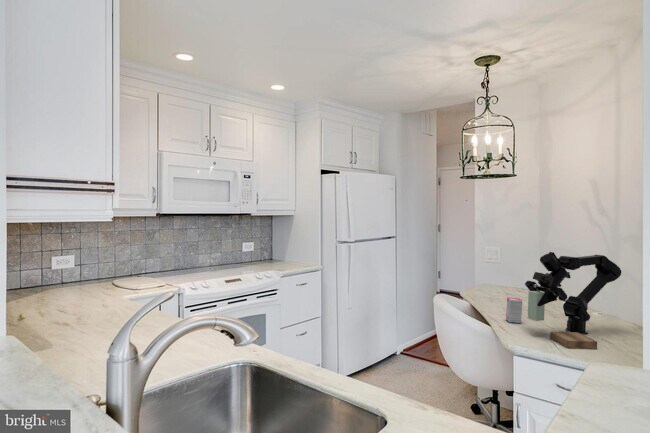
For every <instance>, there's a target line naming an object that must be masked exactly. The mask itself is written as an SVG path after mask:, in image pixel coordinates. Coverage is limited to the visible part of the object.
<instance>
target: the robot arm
mask: <svg viewBox="0 0 650 433" xmlns="http://www.w3.org/2000/svg"><path fill="white" fill-rule="evenodd" d="M539 261H540V263H541V264H542V266H543V267H544V268H545V269H546V271H548V272H546V273H543V272H538V271H534V274H533V276H532V280H534V281H532V280H526V281H525V283H524V285H525V287H526V288H527V289H528V291H540V292H544V296H543V297H542V298H541V300H540V301H539V303H538V304H537V305H538V306H542V305H544V304H545V305H546V304H549V303H552V302H554V301H555V302H556V301H558V300H559V301H562V302H564V303H563V304H562V309H563V314H564V316H565V317H567V320H566V328H565V330H566V331H567V332H579V333H581V334H583V335H589V334H588V331H587V330H586V327H587V326H586V325H587V322H588V321H590V319H591V315H590V314H589V312H588V308H589V307H588V305H589V303H590V302H591V301H592V300H593V299H594V298H595V297H596V295H598V294H599V293H600V291H601V290H602V289H603V288H604V287H605V286H606V285H607V284H608V283H612V282H614V281H616V280H617V279H619V278H620V277H621V276H622V270H621V267H620V266H618V265H617V264H616V263H615V262H614V261H612V260H610V259H609V258H608V257H607V256H606V255H601V254H594V255H593V254H592V255H585V256H567V255H560V256H559V257H558V256H557V255H556V254H555V252H552V251H549V253H546V254H544V255H542V256H540V258H539ZM586 266H594V268H595V269H596V276H595V277H594V278H593V279H592V280H591V281H590V283H588V284H587V285H586V286H585V287H584V288H583V289H582V291H581V292H580V293H579V294H578V295H577V296H573V295H570V296H569V297H568V294H567V293H566V292H565V290H564V289H563V288H562V282H563V281H564V280H565V279H571V278H572V277H571V274H570V273H571V272H570V271H576V270H577V269H580V268H581V267H586ZM567 270H569V271H567ZM536 281H537V282H536Z"/></svg>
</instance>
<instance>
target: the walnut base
mask: <svg viewBox="0 0 650 433" xmlns="http://www.w3.org/2000/svg"><path fill="white" fill-rule="evenodd" d="M549 339H550V340H552V341H553V342H554V343H556V344H558V343H559V345H561V346H562V347H564V348H565V349H572V348H573V350H575V349H577V350H597V349H598V341H596V340H595V339H593V338H591V337H589V336H587V335H586V334H581V333H579V332H570V331H550V332H549Z"/></svg>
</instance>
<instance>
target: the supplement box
mask: <svg viewBox="0 0 650 433" xmlns="http://www.w3.org/2000/svg"><path fill="white" fill-rule="evenodd" d="M522 314H523V300H522V299H520V298H519V297H509V296H508V297H507V298H506V314H505V321H506V322H507V323H509V324H515V325H516V324H517V325H522Z"/></svg>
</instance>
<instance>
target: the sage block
mask: <svg viewBox="0 0 650 433" xmlns="http://www.w3.org/2000/svg"><path fill="white" fill-rule="evenodd" d="M543 296H544V292H542V291H530V290H528V297H527V298H528V299H527V302H528V303H527V320H528V319H529V320H532V321H535V322H543V321H545V305H546V304H544V305H542V306H538V305H537V304H538V303H539V301H540V300H541V298H542V297H543Z"/></svg>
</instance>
